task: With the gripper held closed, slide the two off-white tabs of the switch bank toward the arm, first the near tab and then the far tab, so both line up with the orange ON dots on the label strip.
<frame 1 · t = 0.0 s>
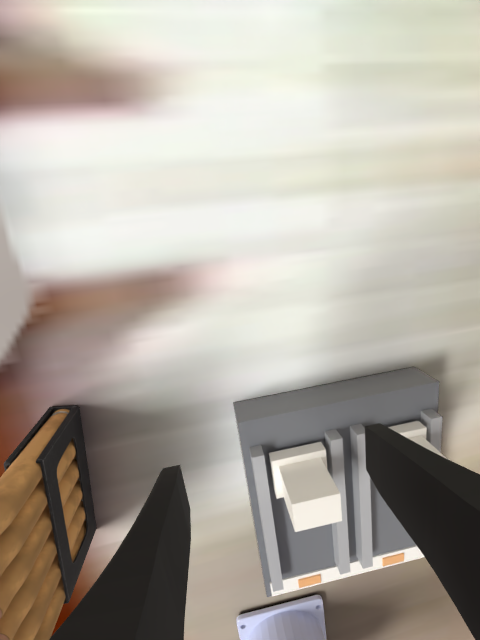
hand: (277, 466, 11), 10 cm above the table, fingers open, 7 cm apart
switch bank: (332, 472, 25), on the table
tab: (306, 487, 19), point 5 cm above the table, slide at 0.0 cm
ammunition clip: (75, 469, 22), on the table
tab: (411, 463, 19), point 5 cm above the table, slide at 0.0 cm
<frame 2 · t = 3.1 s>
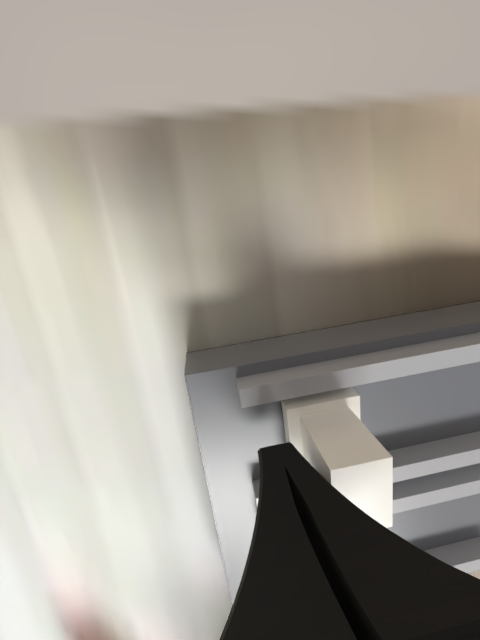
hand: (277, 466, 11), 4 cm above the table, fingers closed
switch bank: (351, 442, 17), on the table
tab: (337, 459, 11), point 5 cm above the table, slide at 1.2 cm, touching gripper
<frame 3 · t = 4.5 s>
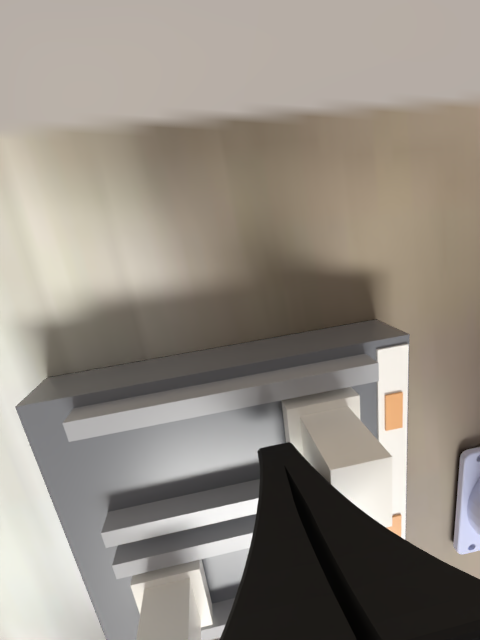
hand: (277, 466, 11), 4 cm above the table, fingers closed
switch bank: (239, 466, 17), on the table
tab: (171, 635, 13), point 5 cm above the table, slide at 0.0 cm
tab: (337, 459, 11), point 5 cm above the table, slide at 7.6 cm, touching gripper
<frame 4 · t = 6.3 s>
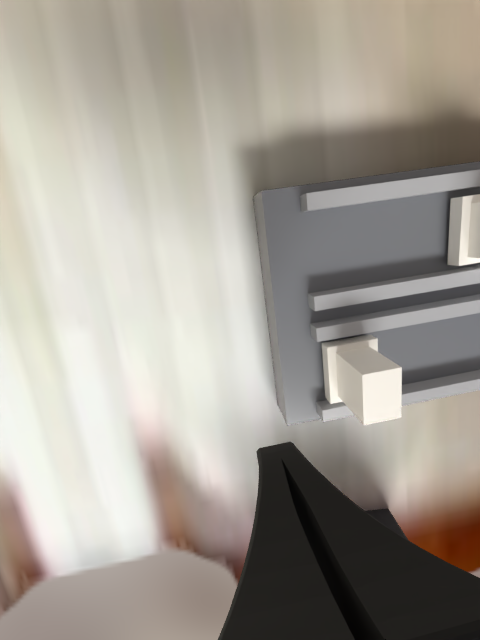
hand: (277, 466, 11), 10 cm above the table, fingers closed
switch bank: (382, 291, 20), on the table
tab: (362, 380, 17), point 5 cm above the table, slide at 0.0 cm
ammunition clip: (326, 521, 26), on the table
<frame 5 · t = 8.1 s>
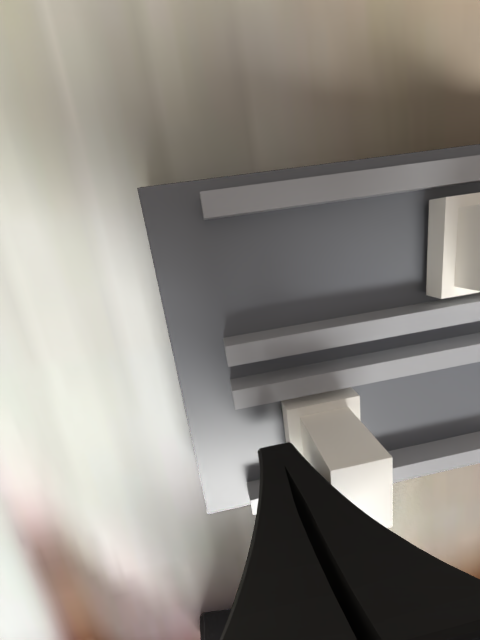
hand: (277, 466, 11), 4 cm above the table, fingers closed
switch bank: (342, 325, 15), on the table
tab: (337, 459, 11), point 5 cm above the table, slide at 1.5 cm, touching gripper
ammunition clip: (281, 608, 20), on the table
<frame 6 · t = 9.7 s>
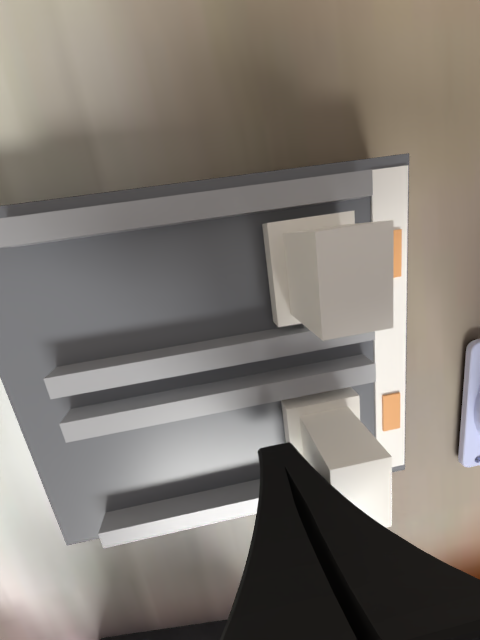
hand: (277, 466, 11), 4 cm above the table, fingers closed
switch bank: (217, 347, 15), on the table
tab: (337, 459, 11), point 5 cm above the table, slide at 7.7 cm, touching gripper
ammunition clip: (187, 631, 20), on the table
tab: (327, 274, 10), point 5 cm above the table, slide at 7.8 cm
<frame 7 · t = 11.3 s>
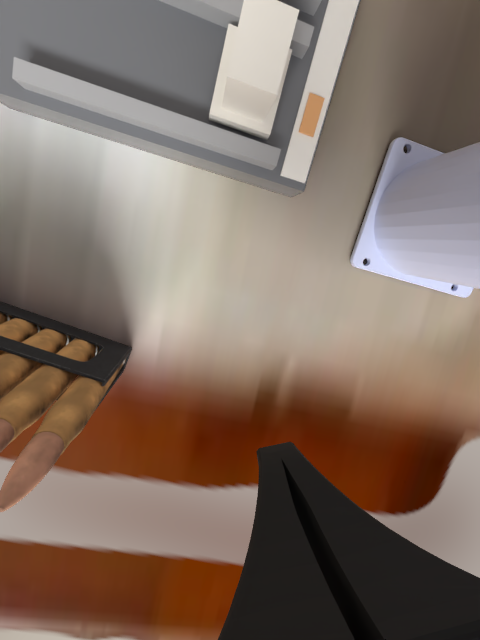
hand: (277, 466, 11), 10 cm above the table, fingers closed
switch bank: (188, 14, 16), on the table
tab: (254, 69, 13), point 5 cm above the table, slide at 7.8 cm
ammunition clip: (46, 330, 20), on the table
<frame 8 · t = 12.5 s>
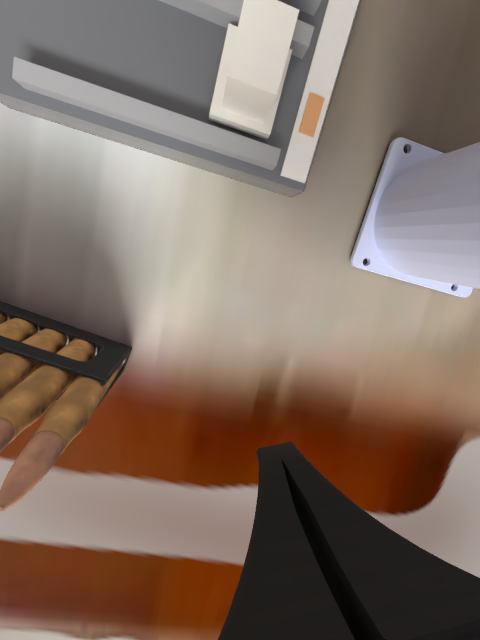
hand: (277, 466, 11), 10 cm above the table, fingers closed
switch bank: (188, 14, 16), on the table
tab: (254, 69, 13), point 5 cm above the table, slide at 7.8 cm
ammunition clip: (46, 330, 20), on the table
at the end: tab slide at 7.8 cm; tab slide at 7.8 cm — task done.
